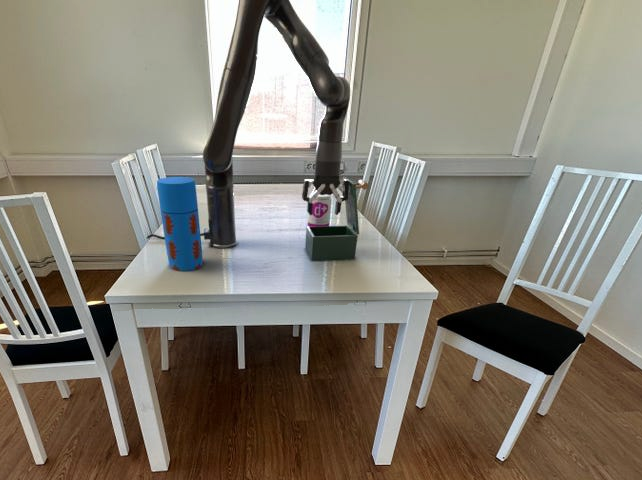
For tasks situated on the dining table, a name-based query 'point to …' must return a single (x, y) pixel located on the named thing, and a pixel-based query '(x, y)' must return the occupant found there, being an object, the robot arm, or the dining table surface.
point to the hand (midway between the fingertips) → (323, 214)
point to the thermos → (180, 222)
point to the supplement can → (320, 211)
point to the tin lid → (353, 204)
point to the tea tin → (330, 242)
